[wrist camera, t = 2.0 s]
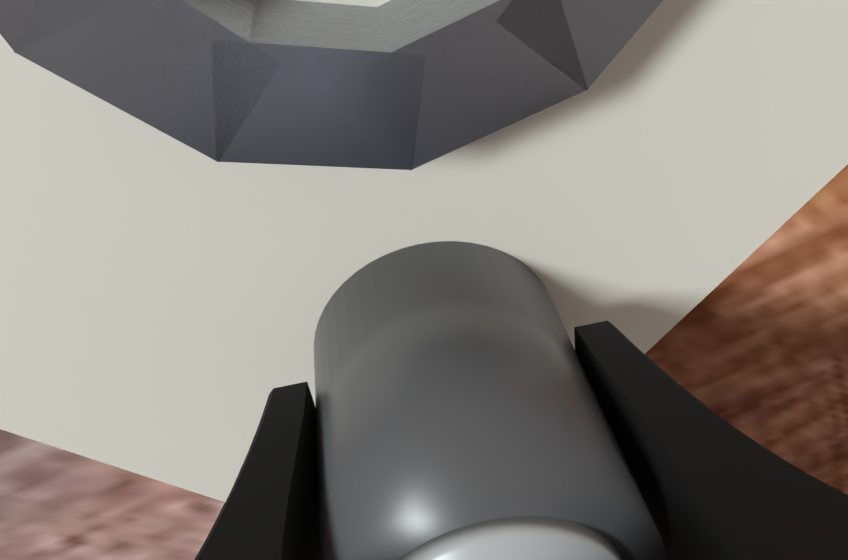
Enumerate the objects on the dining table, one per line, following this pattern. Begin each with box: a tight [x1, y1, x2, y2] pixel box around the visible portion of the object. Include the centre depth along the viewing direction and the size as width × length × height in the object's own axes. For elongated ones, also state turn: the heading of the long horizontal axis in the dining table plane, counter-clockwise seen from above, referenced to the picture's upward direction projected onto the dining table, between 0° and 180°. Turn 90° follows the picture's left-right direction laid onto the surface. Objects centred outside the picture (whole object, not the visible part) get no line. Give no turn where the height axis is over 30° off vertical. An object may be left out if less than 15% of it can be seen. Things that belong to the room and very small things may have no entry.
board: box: [0, 0, 848, 502], centre depth 12 cm, size 20×16×1 cm
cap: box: [314, 241, 666, 560], centre depth 13 cm, size 5×5×6 cm
